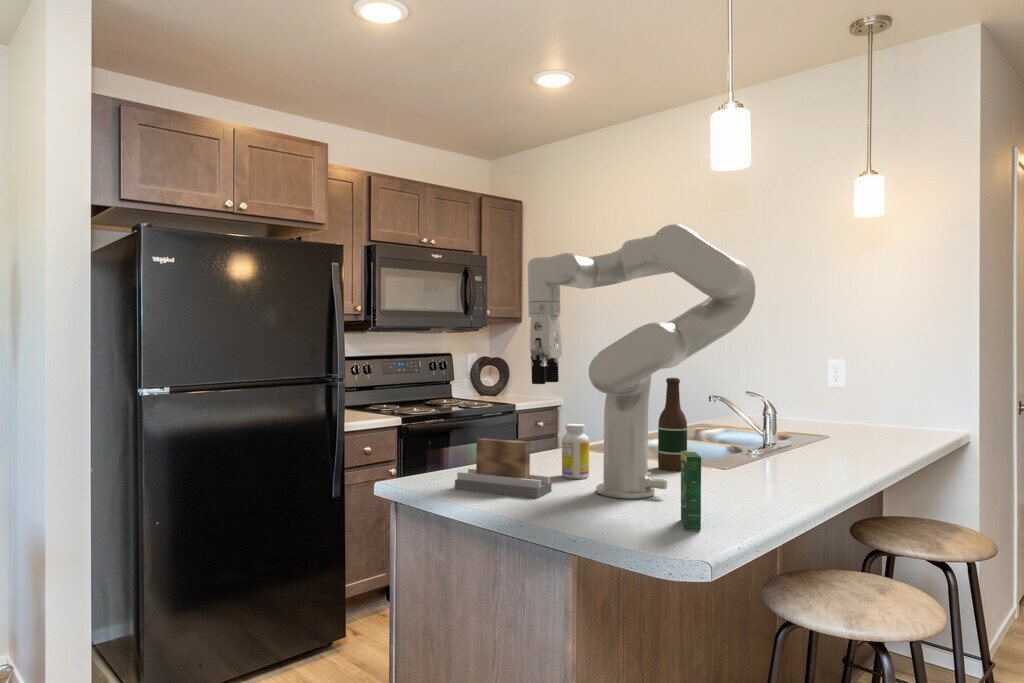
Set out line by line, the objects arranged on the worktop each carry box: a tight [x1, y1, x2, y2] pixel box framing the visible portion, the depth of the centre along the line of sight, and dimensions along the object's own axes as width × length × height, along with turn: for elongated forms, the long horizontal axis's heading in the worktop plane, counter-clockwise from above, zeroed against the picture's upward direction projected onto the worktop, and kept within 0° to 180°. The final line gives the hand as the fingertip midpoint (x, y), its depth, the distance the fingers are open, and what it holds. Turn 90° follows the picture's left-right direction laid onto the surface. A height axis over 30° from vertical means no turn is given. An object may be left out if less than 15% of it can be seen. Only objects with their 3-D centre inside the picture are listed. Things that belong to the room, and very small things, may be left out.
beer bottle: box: [657, 377, 688, 473], centre depth 177 cm, size 8×8×24 cm
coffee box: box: [680, 450, 702, 532], centre depth 122 cm, size 8×3×13 cm, turn 172°
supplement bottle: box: [561, 423, 590, 480], centre depth 165 cm, size 7×7×13 cm
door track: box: [454, 467, 553, 499], centre depth 149 cm, size 20×8×4 cm, turn 64°
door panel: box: [475, 437, 531, 479], centre depth 149 cm, size 12×2×9 cm, turn 64°
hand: (545, 383), depth 158 cm, fingers open, 9 cm apart
